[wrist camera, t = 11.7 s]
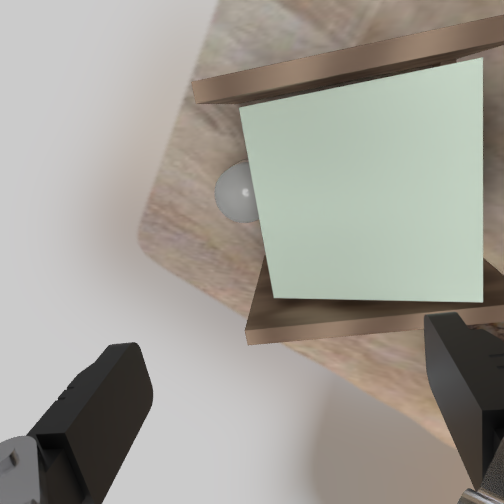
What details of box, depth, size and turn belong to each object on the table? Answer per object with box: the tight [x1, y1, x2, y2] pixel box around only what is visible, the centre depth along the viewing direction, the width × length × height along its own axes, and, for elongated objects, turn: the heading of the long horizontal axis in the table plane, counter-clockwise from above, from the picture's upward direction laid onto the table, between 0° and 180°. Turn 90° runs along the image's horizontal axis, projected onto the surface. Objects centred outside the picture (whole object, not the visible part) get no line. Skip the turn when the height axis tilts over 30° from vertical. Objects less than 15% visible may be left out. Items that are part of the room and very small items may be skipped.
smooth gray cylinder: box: [215, 159, 259, 223], centre depth 37 cm, size 5×5×6 cm
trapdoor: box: [239, 58, 483, 302], centre depth 26 cm, size 21×14×3 cm, turn 101°
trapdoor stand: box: [191, 15, 504, 345], centre depth 31 cm, size 18×18×15 cm
